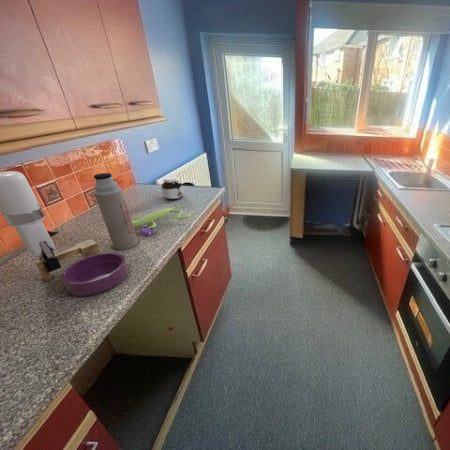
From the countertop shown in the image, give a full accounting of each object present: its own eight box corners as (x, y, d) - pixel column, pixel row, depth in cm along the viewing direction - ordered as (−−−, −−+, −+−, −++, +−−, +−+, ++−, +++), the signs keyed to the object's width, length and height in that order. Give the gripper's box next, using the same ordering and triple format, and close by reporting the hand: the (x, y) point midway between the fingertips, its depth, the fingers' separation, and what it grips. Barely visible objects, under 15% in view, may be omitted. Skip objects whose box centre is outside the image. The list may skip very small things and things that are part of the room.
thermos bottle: (142, 239, 101) (121, 171, 88) (130, 250, 94) (106, 178, 81) (122, 238, 101) (98, 170, 88) (109, 249, 94) (81, 177, 81)
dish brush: (48, 283, 77) (37, 265, 74) (42, 277, 79) (32, 259, 76) (103, 259, 88) (97, 243, 85) (97, 255, 90) (90, 238, 87)
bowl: (81, 305, 70) (74, 291, 67) (59, 283, 77) (52, 270, 75) (138, 275, 82) (134, 263, 79) (115, 259, 89) (110, 247, 86)
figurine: (199, 223, 115) (197, 212, 112) (132, 241, 99) (128, 229, 97) (185, 209, 127) (183, 199, 125) (124, 224, 111) (120, 212, 109)
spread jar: (170, 202, 134) (166, 181, 129) (158, 197, 139) (153, 177, 134) (189, 196, 144) (186, 176, 138) (177, 191, 149) (173, 172, 143)
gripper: (-2, 213, 71) (28, 265, 80) (14, 229, 64) (46, 284, 72) (33, 205, 77) (58, 254, 85) (52, 219, 69) (78, 271, 78)
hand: (53, 267), depth 79 cm, fingers closed on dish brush, 2 cm apart
